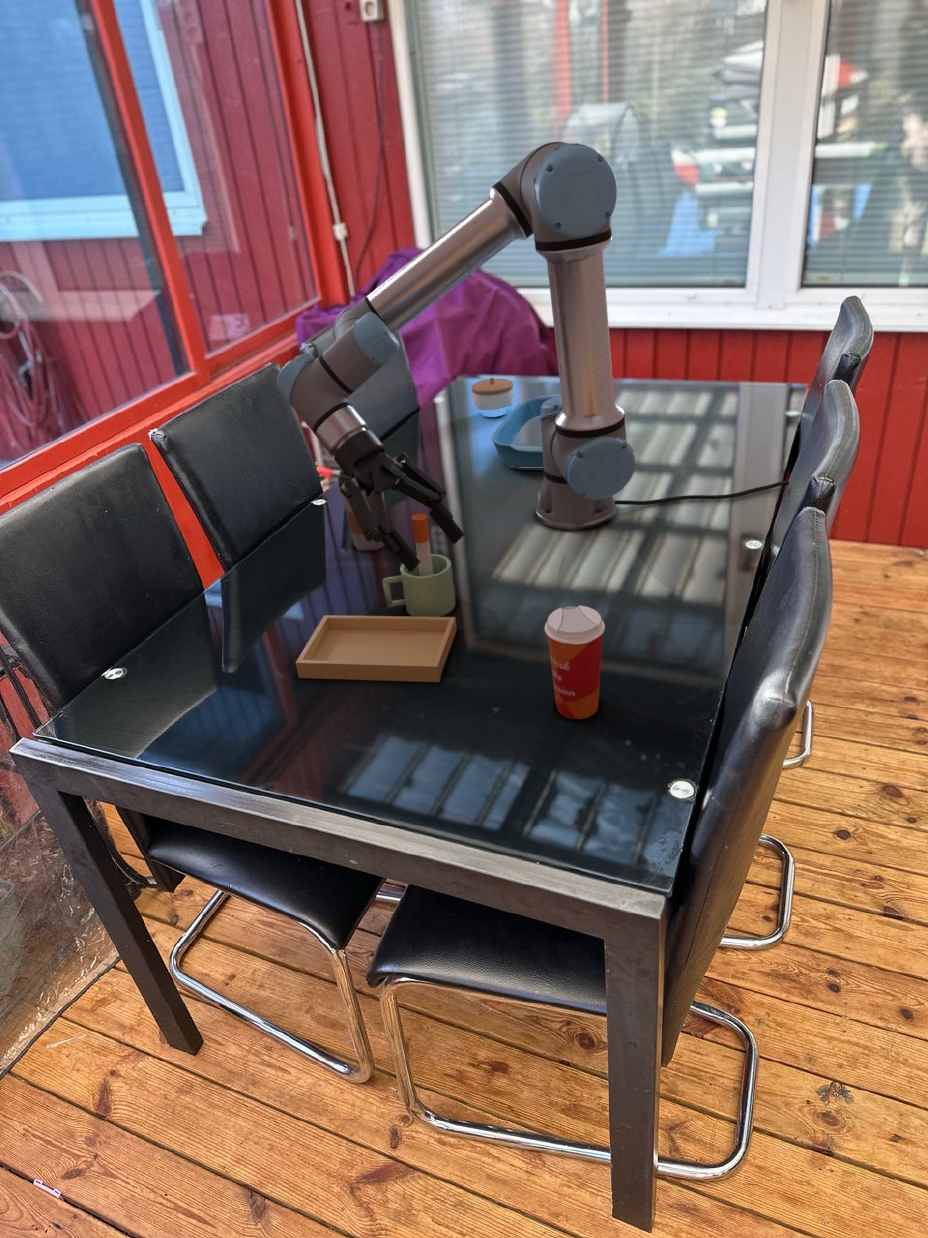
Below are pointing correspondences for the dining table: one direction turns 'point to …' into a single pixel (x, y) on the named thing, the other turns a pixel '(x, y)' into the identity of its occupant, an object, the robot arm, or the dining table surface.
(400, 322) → the robot arm
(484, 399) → the trinket box
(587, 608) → the paper cup
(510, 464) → the casserole dish
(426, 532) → the marker
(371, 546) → the coffee cup
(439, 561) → the mug
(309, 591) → the dining table surface
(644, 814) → the dining table surface
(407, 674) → the tray
